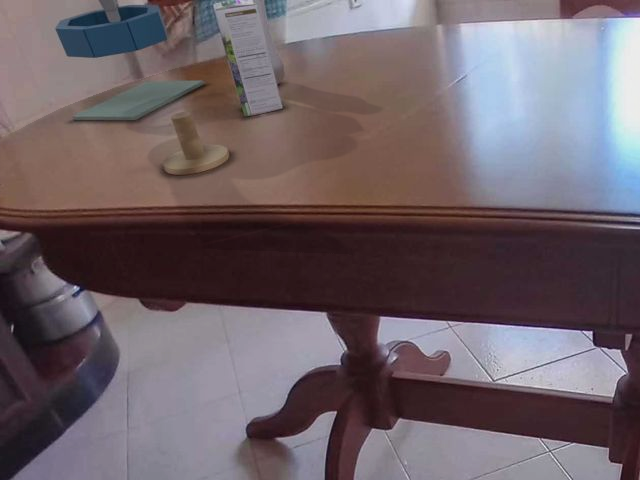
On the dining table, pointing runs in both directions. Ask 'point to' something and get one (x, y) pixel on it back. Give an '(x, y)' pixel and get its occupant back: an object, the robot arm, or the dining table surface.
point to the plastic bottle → (270, 43)
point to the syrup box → (248, 56)
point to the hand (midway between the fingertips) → (116, 20)
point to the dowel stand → (192, 149)
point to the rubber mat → (138, 100)
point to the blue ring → (112, 31)
